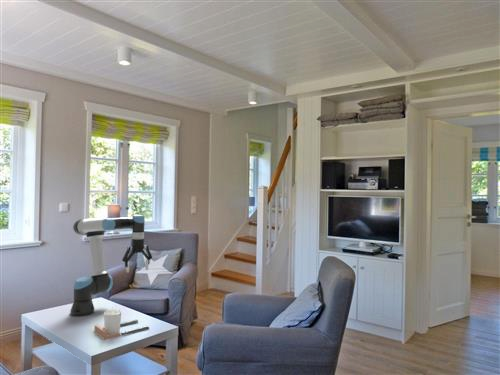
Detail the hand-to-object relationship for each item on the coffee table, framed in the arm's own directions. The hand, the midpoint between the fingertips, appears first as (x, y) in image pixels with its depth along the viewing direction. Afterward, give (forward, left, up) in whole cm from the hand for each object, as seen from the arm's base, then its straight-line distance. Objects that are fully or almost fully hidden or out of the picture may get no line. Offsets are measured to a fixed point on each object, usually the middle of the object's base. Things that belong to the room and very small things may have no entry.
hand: (137, 270), depth 246 cm
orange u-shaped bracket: (+13, -25, -32) cm, 42 cm away
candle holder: (+13, -22, -32) cm, 41 cm away
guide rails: (+13, -11, -32) cm, 36 cm away
